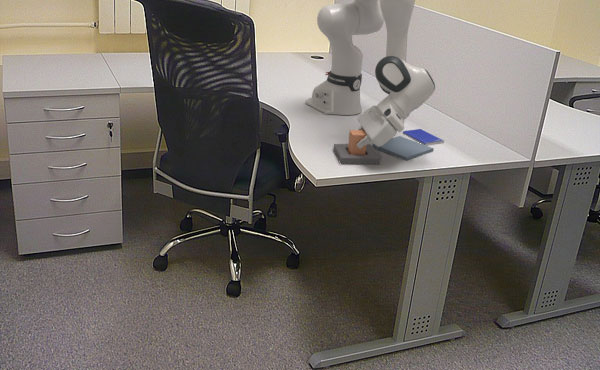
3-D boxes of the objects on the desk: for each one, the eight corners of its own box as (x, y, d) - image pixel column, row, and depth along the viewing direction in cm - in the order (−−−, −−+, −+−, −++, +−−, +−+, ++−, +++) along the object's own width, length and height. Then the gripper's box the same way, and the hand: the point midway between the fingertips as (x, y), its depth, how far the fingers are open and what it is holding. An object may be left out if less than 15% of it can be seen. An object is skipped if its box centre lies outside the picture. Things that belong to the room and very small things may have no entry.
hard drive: (444, 140, 218) (421, 128, 228) (425, 142, 214) (402, 130, 224) (443, 144, 218) (420, 132, 228) (424, 147, 215) (402, 135, 224)
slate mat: (372, 146, 210) (372, 144, 210) (399, 138, 219) (399, 135, 219) (406, 160, 201) (406, 157, 201) (433, 151, 210) (433, 148, 210)
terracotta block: (350, 159, 199) (352, 135, 196) (347, 154, 203) (349, 130, 200) (364, 159, 200) (367, 135, 196) (361, 154, 204) (364, 130, 200)
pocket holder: (340, 164, 195) (341, 158, 194) (333, 149, 206) (333, 143, 205) (379, 164, 197) (380, 158, 196) (370, 150, 208) (370, 144, 207)
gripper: (375, 95, 205) (342, 124, 207) (392, 116, 186) (356, 147, 189) (387, 109, 207) (354, 138, 210) (405, 131, 189) (369, 162, 191)
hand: (355, 143), depth 199 cm, fingers closed on terracotta block, 4 cm apart
